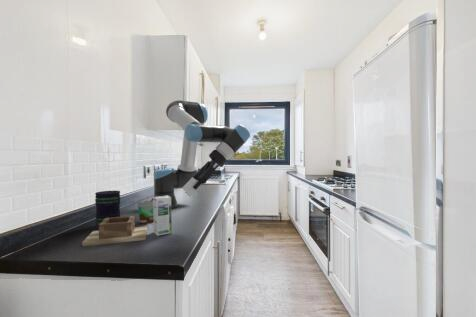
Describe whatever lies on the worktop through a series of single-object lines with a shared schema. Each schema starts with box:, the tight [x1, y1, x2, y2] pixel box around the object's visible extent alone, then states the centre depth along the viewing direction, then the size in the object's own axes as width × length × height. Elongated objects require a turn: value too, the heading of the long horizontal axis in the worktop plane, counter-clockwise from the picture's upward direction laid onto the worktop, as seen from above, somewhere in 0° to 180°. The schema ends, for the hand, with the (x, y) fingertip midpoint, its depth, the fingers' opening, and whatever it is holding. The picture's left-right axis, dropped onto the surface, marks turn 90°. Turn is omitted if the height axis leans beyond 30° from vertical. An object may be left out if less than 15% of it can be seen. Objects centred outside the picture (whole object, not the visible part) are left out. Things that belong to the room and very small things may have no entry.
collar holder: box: [81, 215, 148, 247], centre depth 92 cm, size 13×20×6 cm, turn 107°
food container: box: [137, 197, 154, 225], centre depth 114 cm, size 12×6×10 cm, turn 168°
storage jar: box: [94, 190, 122, 230], centre depth 108 cm, size 10×10×15 cm
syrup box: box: [152, 196, 173, 237], centre depth 96 cm, size 6×6×14 cm
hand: (185, 192), depth 98 cm, fingers open, 13 cm apart
